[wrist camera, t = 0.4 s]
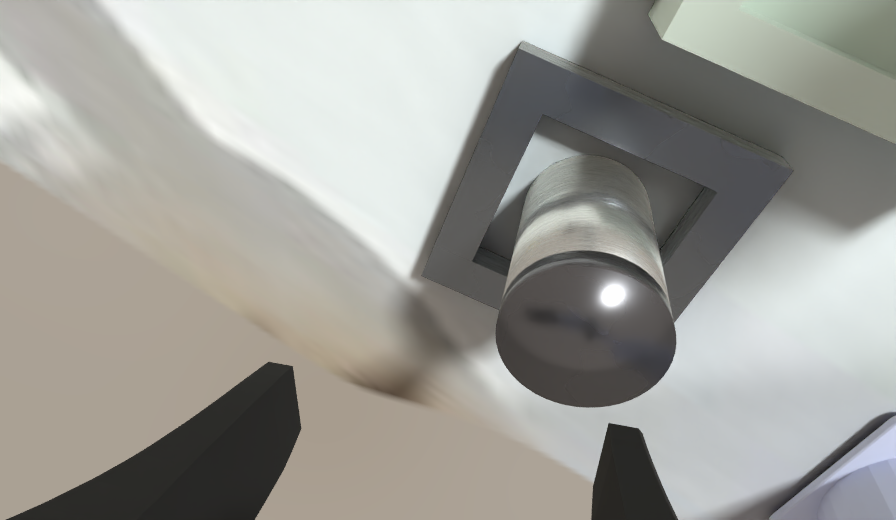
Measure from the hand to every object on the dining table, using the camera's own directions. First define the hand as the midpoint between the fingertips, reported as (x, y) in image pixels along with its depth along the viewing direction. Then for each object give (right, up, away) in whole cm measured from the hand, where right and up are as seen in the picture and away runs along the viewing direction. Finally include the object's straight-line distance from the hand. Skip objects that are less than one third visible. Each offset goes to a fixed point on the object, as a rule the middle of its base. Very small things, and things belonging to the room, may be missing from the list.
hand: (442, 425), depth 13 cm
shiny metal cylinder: (+5, +5, +8) cm, 11 cm away
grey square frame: (+5, +5, +8) cm, 11 cm away
